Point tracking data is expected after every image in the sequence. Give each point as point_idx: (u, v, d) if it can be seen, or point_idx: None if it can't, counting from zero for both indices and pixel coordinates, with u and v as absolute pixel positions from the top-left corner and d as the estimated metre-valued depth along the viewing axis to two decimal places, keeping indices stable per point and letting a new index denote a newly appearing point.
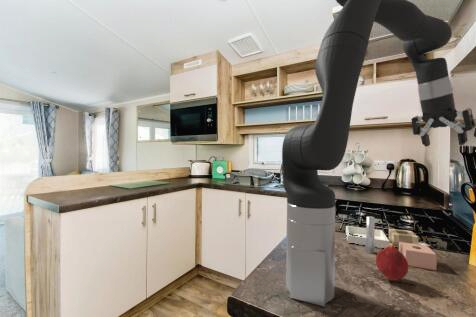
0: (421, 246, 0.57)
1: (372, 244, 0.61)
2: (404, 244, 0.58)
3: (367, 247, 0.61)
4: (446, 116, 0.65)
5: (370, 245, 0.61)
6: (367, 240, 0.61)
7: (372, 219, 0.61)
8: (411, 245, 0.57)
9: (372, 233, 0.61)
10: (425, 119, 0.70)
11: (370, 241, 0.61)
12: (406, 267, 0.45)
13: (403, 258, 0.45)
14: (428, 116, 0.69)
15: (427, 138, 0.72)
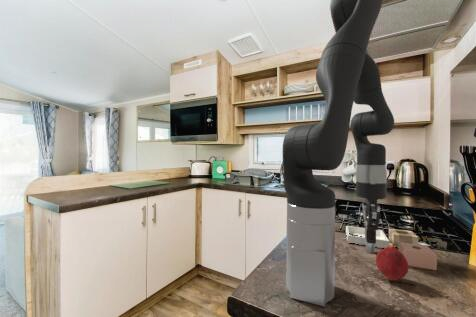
0: (421, 246, 0.57)
1: (372, 244, 0.61)
2: (404, 244, 0.58)
3: (367, 247, 0.62)
4: (367, 207, 0.60)
5: (370, 245, 0.61)
6: None
7: None
8: (411, 245, 0.57)
9: None
10: None
11: None
12: (406, 267, 0.45)
13: (403, 258, 0.45)
14: (365, 198, 0.65)
15: None
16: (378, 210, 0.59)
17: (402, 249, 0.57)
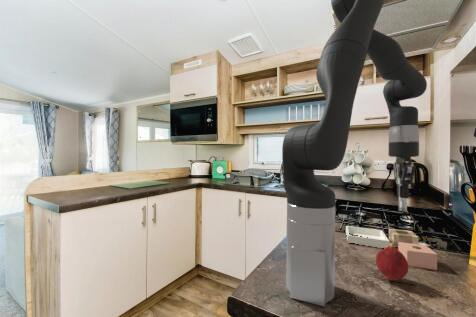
0: (420, 246, 0.57)
1: (405, 203, 0.66)
2: (403, 244, 0.58)
3: (400, 206, 0.67)
4: (400, 165, 0.65)
5: (403, 204, 0.66)
6: (400, 199, 0.67)
7: None
8: (411, 245, 0.57)
9: None
10: (396, 163, 0.70)
11: (403, 200, 0.66)
12: (406, 267, 0.45)
13: (403, 258, 0.45)
14: (396, 159, 0.70)
15: None
16: None
17: (402, 249, 0.57)
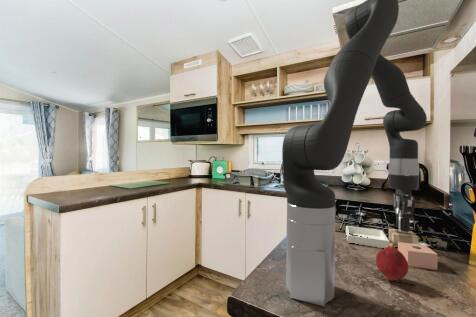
0: (420, 246, 0.57)
1: None
2: (403, 244, 0.58)
3: None
4: (400, 197, 0.65)
5: None
6: None
7: None
8: (411, 245, 0.57)
9: None
10: (396, 194, 0.70)
11: None
12: (406, 267, 0.45)
13: (403, 258, 0.45)
14: (396, 190, 0.69)
15: None
16: (411, 200, 0.64)
17: (402, 249, 0.57)
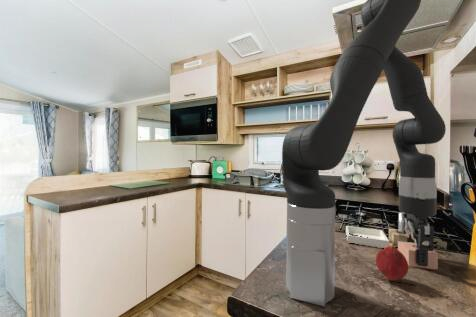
0: None
1: None
2: (403, 243, 0.58)
3: None
4: (414, 223, 0.54)
5: None
6: None
7: None
8: (410, 244, 0.57)
9: None
10: (407, 218, 0.59)
11: None
12: (406, 267, 0.45)
13: (403, 258, 0.45)
14: (408, 215, 0.58)
15: None
16: None
17: (403, 249, 0.57)
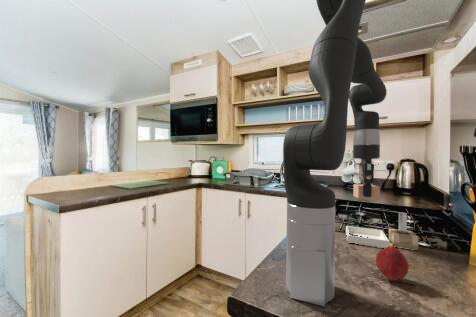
0: None
1: None
2: (357, 184, 0.73)
3: None
4: (362, 165, 0.69)
5: None
6: None
7: (405, 215, 0.66)
8: (362, 184, 0.72)
9: (405, 228, 0.66)
10: None
11: None
12: (406, 267, 0.45)
13: (403, 258, 0.45)
14: (361, 162, 0.73)
15: None
16: None
17: (355, 187, 0.72)
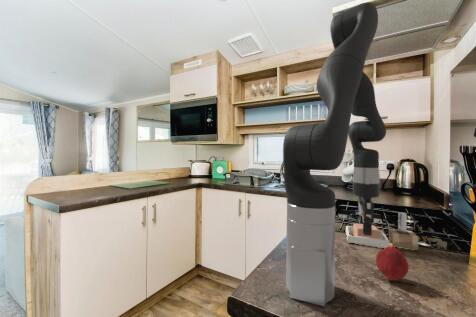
0: None
1: None
2: (356, 224, 0.73)
3: None
4: (362, 203, 0.69)
5: None
6: None
7: (404, 215, 0.66)
8: (362, 225, 0.72)
9: (404, 228, 0.66)
10: None
11: None
12: (406, 267, 0.45)
13: (403, 258, 0.45)
14: (361, 198, 0.73)
15: None
16: None
17: (355, 228, 0.72)
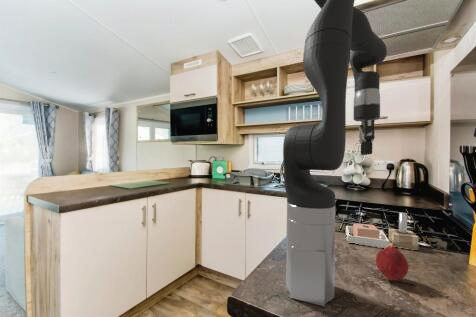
0: (369, 225, 0.72)
1: None
2: (356, 224, 0.73)
3: None
4: (363, 125, 0.69)
5: None
6: None
7: (405, 215, 0.66)
8: (362, 225, 0.72)
9: (405, 228, 0.66)
10: None
11: None
12: (406, 267, 0.45)
13: (403, 258, 0.45)
14: (361, 125, 0.73)
15: None
16: None
17: (355, 228, 0.72)
